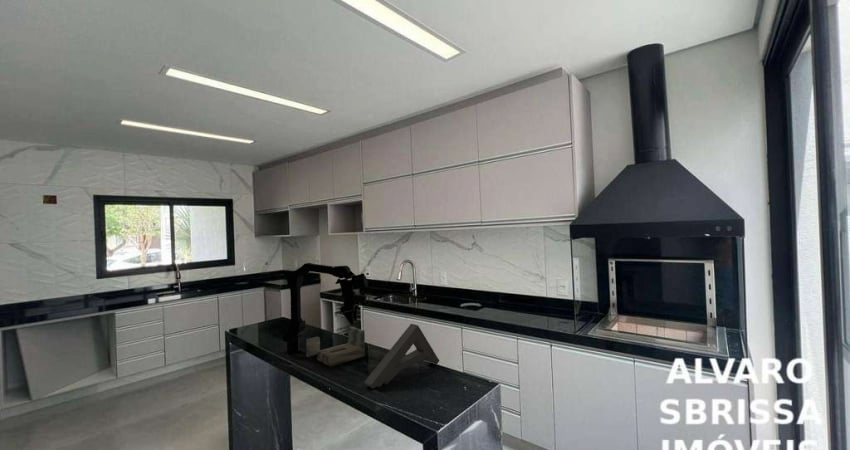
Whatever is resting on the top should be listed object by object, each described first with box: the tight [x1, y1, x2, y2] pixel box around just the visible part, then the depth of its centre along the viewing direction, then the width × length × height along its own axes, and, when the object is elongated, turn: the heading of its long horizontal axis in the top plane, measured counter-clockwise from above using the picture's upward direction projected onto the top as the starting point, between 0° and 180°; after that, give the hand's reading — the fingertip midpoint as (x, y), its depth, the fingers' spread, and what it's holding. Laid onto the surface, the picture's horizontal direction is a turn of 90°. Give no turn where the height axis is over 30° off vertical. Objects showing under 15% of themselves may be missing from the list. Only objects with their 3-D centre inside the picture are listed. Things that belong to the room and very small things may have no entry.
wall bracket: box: [363, 323, 440, 390], centre depth 141 cm, size 22×4×30 cm
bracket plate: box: [305, 336, 321, 358], centre depth 166 cm, size 2×6×8 cm, turn 135°
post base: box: [316, 325, 366, 368], centre depth 161 cm, size 12×18×12 cm, turn 135°
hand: (354, 322), depth 168 cm, fingers open, 9 cm apart
